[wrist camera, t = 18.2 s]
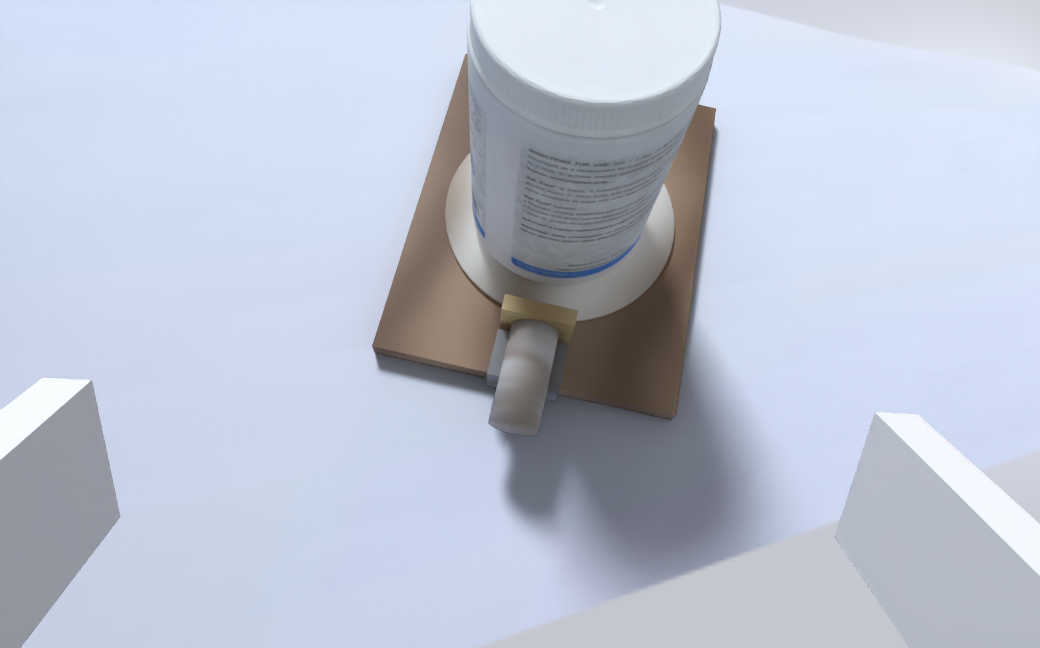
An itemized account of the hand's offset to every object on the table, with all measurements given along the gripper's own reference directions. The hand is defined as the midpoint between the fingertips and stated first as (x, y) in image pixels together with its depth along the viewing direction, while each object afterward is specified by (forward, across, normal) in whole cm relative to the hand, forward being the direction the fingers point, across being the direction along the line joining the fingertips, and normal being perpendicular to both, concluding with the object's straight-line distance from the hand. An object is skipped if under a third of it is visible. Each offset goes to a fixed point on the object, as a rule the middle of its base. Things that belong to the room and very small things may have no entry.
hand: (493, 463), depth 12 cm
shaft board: (+28, +4, -3) cm, 29 cm away
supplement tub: (+28, +4, -3) cm, 28 cm away
